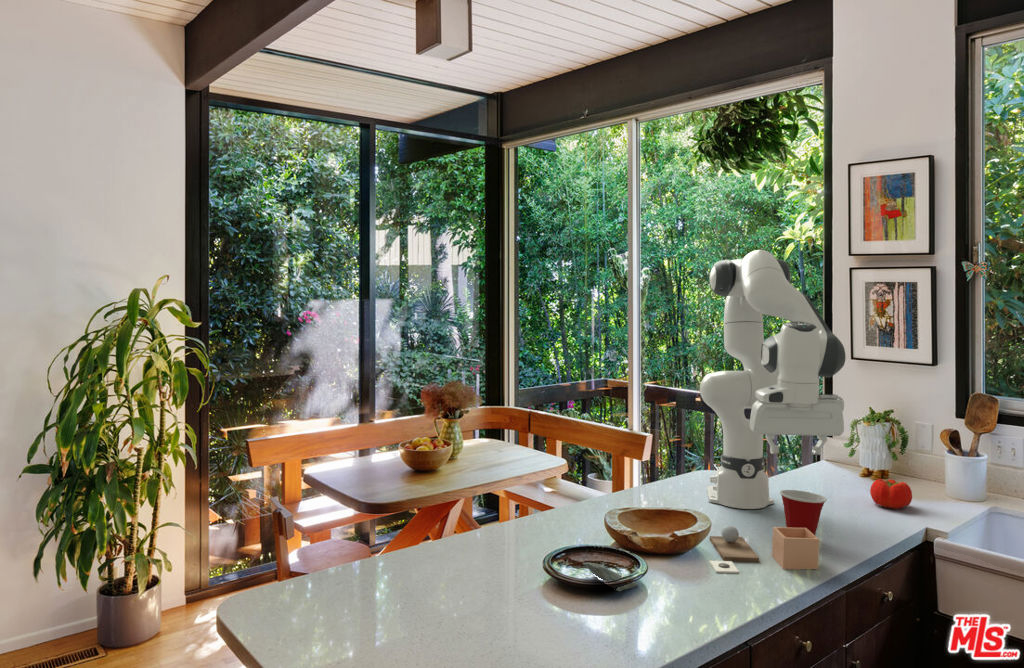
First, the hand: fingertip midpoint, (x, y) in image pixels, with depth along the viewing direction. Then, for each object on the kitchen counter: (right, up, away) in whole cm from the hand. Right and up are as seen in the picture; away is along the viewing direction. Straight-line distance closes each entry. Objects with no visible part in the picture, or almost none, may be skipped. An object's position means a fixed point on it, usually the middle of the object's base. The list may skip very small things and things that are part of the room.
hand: (795, 454), depth 162 cm
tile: (-17, -25, -2) cm, 30 cm away
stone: (-43, -26, -11) cm, 52 cm away
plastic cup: (+8, -25, +16) cm, 30 cm away
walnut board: (-11, -25, +9) cm, 28 cm away
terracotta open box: (0, -25, +1) cm, 25 cm away
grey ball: (-11, -21, +11) cm, 27 cm away
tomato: (+46, -23, +46) cm, 69 cm away
